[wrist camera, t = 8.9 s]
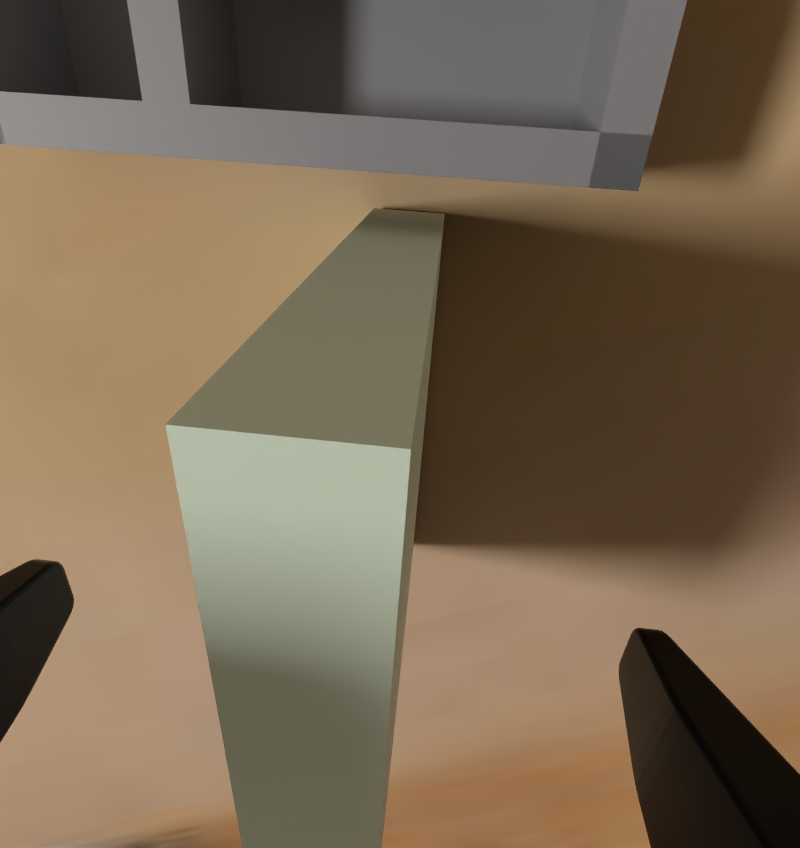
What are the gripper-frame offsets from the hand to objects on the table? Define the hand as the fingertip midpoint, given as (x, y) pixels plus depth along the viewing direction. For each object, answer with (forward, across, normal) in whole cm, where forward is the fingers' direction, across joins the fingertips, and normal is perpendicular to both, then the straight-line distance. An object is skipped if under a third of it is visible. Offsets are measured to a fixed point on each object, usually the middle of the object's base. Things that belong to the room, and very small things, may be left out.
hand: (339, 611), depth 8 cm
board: (+7, 0, 0) cm, 7 cm away
